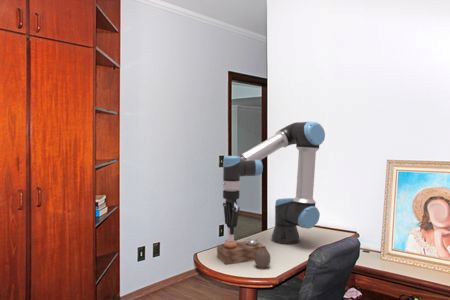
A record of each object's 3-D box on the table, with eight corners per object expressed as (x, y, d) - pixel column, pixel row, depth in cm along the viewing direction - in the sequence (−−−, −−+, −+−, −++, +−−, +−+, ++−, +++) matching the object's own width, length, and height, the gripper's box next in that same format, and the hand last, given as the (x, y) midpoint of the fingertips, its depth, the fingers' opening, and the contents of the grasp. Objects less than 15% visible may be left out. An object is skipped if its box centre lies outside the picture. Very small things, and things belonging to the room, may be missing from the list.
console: (254, 252, 178) (254, 240, 178) (265, 258, 169) (265, 246, 169) (217, 257, 170) (217, 245, 170) (226, 264, 161) (226, 251, 161)
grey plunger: (253, 251, 175) (254, 237, 175) (259, 254, 170) (259, 241, 170) (243, 252, 173) (243, 239, 173) (249, 256, 168) (249, 242, 168)
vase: (271, 269, 156) (272, 249, 156) (256, 269, 155) (256, 249, 155) (268, 263, 163) (268, 244, 162) (253, 264, 162) (253, 244, 162)
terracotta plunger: (233, 252, 171) (233, 239, 171) (238, 256, 166) (238, 242, 165) (222, 254, 169) (222, 240, 168) (227, 258, 163) (227, 243, 163)
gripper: (218, 188, 170) (217, 238, 171) (229, 192, 158) (229, 245, 159) (232, 187, 173) (231, 236, 174) (245, 191, 162) (244, 243, 162)
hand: (230, 240), depth 167 cm, fingers closed
